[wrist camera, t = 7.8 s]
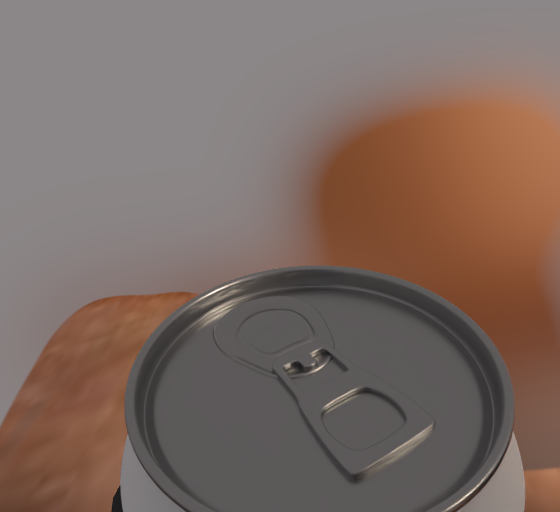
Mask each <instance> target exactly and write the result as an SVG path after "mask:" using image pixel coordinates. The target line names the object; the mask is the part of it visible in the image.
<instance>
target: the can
mask: <svg viewBox="0 0 560 512" xmlns="http://www.w3.org/2000/svg"><path fill="white" fill-rule="evenodd" d="M125 420H126V427H127V431H128V436H127V439H126V443H125V448H124V453H123V459H122V467H121V484H120V487H121V501H122V508H123V512H524V506H525V481H524V472H523V466H522V461H521V457H520V452H519V448H518V445H517V441H516V439H515V436H514V433H513V428H514V422H515V397H514V391H513V385H512V381H511V378H510V375H509V372H508V369H507V367H506V364H505V362H504V360H503V358H502V357H501V355H500V353H499V351H498V349H497V348H496V346H495V345H494V344H493V342H492V341H491V339H490V338H489V337H488V336H487V334H486V333H485V332H484V331H483V330H482V329H481V328H480V327H479V326H478V325H477V324H476V323H475V322H474V321H473V320H472V319H471V318H470V317H469V316H468V315H466V314H465V313H464V312H463V311H461V310H460V309H459V308H457V307H456V306H455V305H453V304H452V303H450V302H449V301H447V300H445V299H444V298H442V297H440V296H439V295H436V294H435V293H433V292H431V291H429V290H427V289H425V288H423V287H420V286H418V285H416V284H413V283H411V282H408V281H405V280H402V279H400V278H396V277H393V276H389V275H386V274H382V273H378V272H374V271H369V270H363V269H357V268H350V267H339V266H298V267H287V268H279V269H273V270H268V271H263V272H258V273H254V274H251V275H247V276H243V277H240V278H237V279H234V280H231V281H229V282H226V283H223V284H221V285H219V286H216V287H214V288H212V289H210V290H208V291H206V292H204V293H202V294H200V295H198V296H197V297H195V298H193V299H192V300H190V301H189V302H187V303H186V304H184V305H183V306H181V307H180V308H179V309H177V310H176V311H175V312H173V313H172V314H171V315H170V316H169V317H168V318H167V319H165V320H164V321H163V322H162V323H161V324H160V325H159V326H158V327H157V329H156V330H155V331H154V332H153V333H152V334H151V336H150V337H149V338H148V339H147V341H146V342H145V344H144V345H143V347H142V348H141V350H140V352H139V354H138V355H137V357H136V359H135V361H134V364H133V366H132V369H131V372H130V374H129V378H128V382H127V386H126V392H125Z"/></svg>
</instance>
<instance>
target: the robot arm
mask: <svg viewBox="0 0 560 512" xmlns="http://www.w3.org/2000/svg"><path fill="white" fill-rule="evenodd" d="M112 512H123V508H122V501H121V487H120V486H119V488H118V490H117V492H116V494H115V496H114V497H113V504H112Z"/></svg>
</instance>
